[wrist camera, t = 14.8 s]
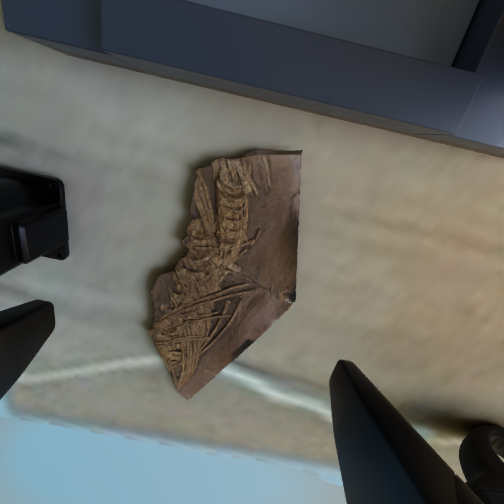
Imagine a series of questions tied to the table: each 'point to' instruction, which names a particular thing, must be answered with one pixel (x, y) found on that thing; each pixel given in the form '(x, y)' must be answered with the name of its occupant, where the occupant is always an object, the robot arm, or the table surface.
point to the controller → (484, 463)
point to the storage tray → (305, 55)
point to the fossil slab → (229, 265)
